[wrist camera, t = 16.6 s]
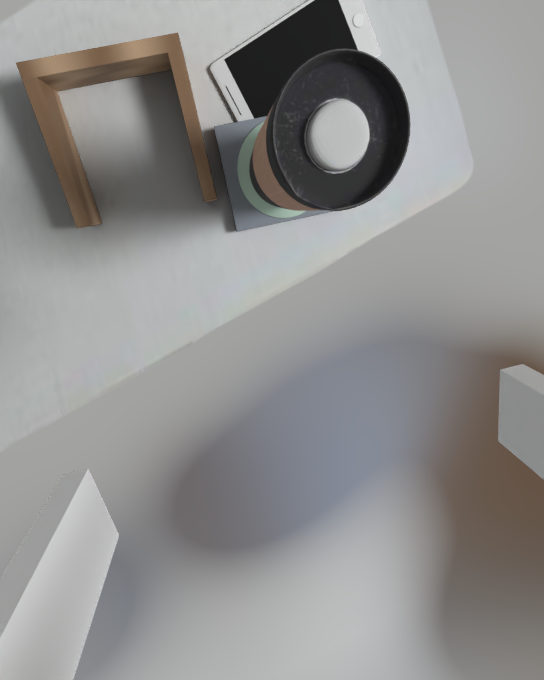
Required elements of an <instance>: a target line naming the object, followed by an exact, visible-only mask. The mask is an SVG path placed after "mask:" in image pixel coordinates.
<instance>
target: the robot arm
mask: <svg viewBox="0 0 544 680" xmlns="http://www.w3.org/2000/svg"><path fill="white" fill-rule="evenodd" d="M498 431H499V432H498V441H499V442H500V443H501V444H503V445H504V446H505V447H506V448H507V449H508V450H510V451H511V452H512V453H513V454H514V455H515V456H517V457H518V458H519V459H520V460H521V461H523V462H524V463H525V464H526V465H527V466H529V467H530V468H531V469H532V470H533V471H534V472H536V473H537V474H538V475H539V476H540V477H541V478H543V479H544V375H543V374H540V373H538V372H537V371H535V370H533V369H531V368H529V367H527V366H525V365H523V364H522V365H518V366H514V367H509V368H505V369H501V370H500V397H499V430H498ZM118 537H119V534H118V532H117V530H116V528H115V525H114V523H113V521H112V519H111V517H110V515H109V513H108V511H107V508H106V506H105V504H104V502H103V500H102V497H101V495H100V494H99V491H98V489H97V487H96V484H95V482H94V480H93V478H92V476H91V474H90V472H89V469H84V470H80V471H76V472H72V473H68V474H63V475H62V477H61V478H60V480H59V482H58V483H57V485H56V487H55V488H54V490H53V491H52V493H51V495H50V497H49V498H48V500H47V502H46V503H45V505H44V507H43V508H42V510H41V511H40V513H39V515H38V516H37V518H36V520H35V521H34V523H33V525H32V526H31V528H30V530H29V531H28V533H27V535H26V536H25V538H24V540H23V541H22V543H21V545H20V546H19V548H18V550H17V551H16V553H15V555H14V556H13V558H12V559H11V561H10V563H9V565H8V566H7V568H6V570H5V571H4V573H3V574H2V576H1V578H0V680H73V678H74V675H75V672H76V669H77V666H78V663H79V660H80V656H81V653H82V650H83V647H84V644H85V641H86V638H87V634H88V631H89V628H90V625H91V622H92V619H93V616H94V612H95V609H96V606H97V603H98V600H99V597H100V594H101V591H102V587H103V584H104V581H105V578H106V575H107V572H108V568H109V566H110V562H111V559H112V556H113V553H114V550H115V547H116V543H117V540H118Z"/></svg>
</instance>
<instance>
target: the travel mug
mask: <svg viewBox="0 0 544 680" xmlns="http://www.w3.org/2000/svg"><path fill="white" fill-rule="evenodd" d="M409 136H410V113H409V108H408V103H407V100H406V96H405V93H404V91H403V89H402V87H401V85H400V83H399V81H398V80H397V78H396V76H395V75H394V74H393V73H392V71H391V70H390V69H389V68H388V67H387V66H386V65H385V64H384V63H383V62H381V61H380V60H378V59H377V58H375V57H374V56H372V55H370V54H368V53H365V52H362V51H359V50H355V49H347V48H344V49H333V50H329V51H325V52H322V53H320V54H317V55H315V56H314V57H312V58H310V59H308V60H307V61H306V62H304V63H303V64H302V65H301V66H299V67H298V68H297V69H296V70H295V71H294V72H293V74H292V75H291V76H290V77H289V79H288V80H287V81H286V83H285V84H284V86H283V88H282V89H281V91H280V93H279V95H278V97H277V99H276V100H275V102H274V104H273V106H272V108H271V110H270V112H269V114H268V116H267V118H266V120H265V121H264V123H263V125H262V127H261V129H260V131H259V133H258V135H257V138H256V140H255V144H254V147H253V151H252V154H251V158H250V164H249V173H250V179H251V182H252V185H253V187H254V189H255V191H256V192H257V194H258V195H259V196H260V197H261V198H262V199H263V200H264V201H266V202H267V203H269V204H271V205H273V206H276V207H280V208H284V209H289V210H294V211H317V210H329V211H341V210H347V209H351V208H354V207H357V206H360V205H362V204H364V203H366V202H368V201H370V200H372V199H373V198H374V197H376V196H377V195H379V194H380V193H381V192H382V191H383V190H384V189H385V188H386V187H387V186H388V185H389V184H390V182H391V181H392V180H393V178H394V177H395V175H396V174H397V172H398V170H399V169H400V167H401V165H402V162H403V160H404V157H405V155H406V151H407V147H408V143H409Z"/></svg>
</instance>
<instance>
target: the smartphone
mask: <svg viewBox="0 0 544 680" xmlns="http://www.w3.org/2000/svg"><path fill="white" fill-rule="evenodd" d="M344 48H347V49H355V50H359V51H362V52H365V53H368V54H370V55H372V56H374V57H375V58H378V57H379V55H380V54H381V50H380V48H379V45H378V42H377V40H376V37H375V34H374V31H373V29H372V26H371V23H370V21H369V18H368V15H367V12H366V10H365V7H364V4H363V2H362V0H308V1H307V2H305V3H304V4H302V5H301V6H299V7H298V8H296V9H295V10H293V11H291V12H290V13H288V14H287V15H285V16H284V17H282V18H281V19H279V20H278V21H276V22H275V23H273V24H272V25H270V26H269V27H267V28H266V29H264V30H263V31H261V32H259V33H258V34H256V35H255V36H253V37H252V38H250V39H249V40H247V41H246V42H244V43H243V44H241V45H240V46H238V47H237V48H235V49H234V50H232V51H231V52H229V53H228V54H226V55H224V56H223V57H221V58H220V59H218V60H217V61H215V62H214V63H213V64H212V65H211V67H210V70H211V73H212V75H213V76H214V78H215V80H216V82H217V84H218V86H219V88H220V90H221V92H222V93H223V95H224V97H225V99H226V101H227V103H228V105H229V107H230V109H231V111H232V112H233V114H234V116H235V118H236V120H237V122H239V121H244V120H249V119H255V118H260V117H265V116H268V114H269V112H270V110H271V108H272V106H273V104H274V102H275V100H276V99H277V97H278V95H279V93H280V91H281V89H282V88H283V86H284V84H285V83H286V81H287V80H288V79H289V77H290V76H291V75H292V74H293V72H294V71H295V70H296V69H297V68H298V67H299V66H301V65H302V64H303V63H304V62H306V61H307V60H308V59H310V58H312V57H314V56H315V55H317V54H320V53H322V52H325V51H329V50H333V49H344Z"/></svg>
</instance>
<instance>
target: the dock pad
mask: <svg viewBox="0 0 544 680" xmlns="http://www.w3.org/2000/svg"><path fill="white" fill-rule="evenodd" d="M266 118H267V116H265V117H260V118H255V119H249V120H244V121H239V122H234V123H229V124H224V125H219V126H214V131H215V135H216V140H217V144H218V149H219V153H220V158H221V162H222V167H223V171H224V176H225V180H226V185H227V189H228V194H229V198H230V203H231V207H232V212H233V216H234V221H235V225H236V230H237V232H238V231H243V230H247V229H252V228H257V227H261V226H266V225H271V224H276V223H280V222H285V221H290V220H294V219H299V218H304V217H308V216H313V215H318V214H322V213H327V212H332V211H329V210H317V211H294V210H289V209H284V208H280V207H276V206H273V205H271V204H269V203H267V202H266V201H264V200H263V199H262V198H261V197H260V196H259V195H258V194H257V192H256V191H255V189H254V187H253V185H252V182H251V179H250V173H249V164H250V158H251V154H252V151H253V147H254V144H255V140H256V138H257V135H258V133H259V131H260V129H261V127H262V125H263V123H264V121H265V120H266Z"/></svg>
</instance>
